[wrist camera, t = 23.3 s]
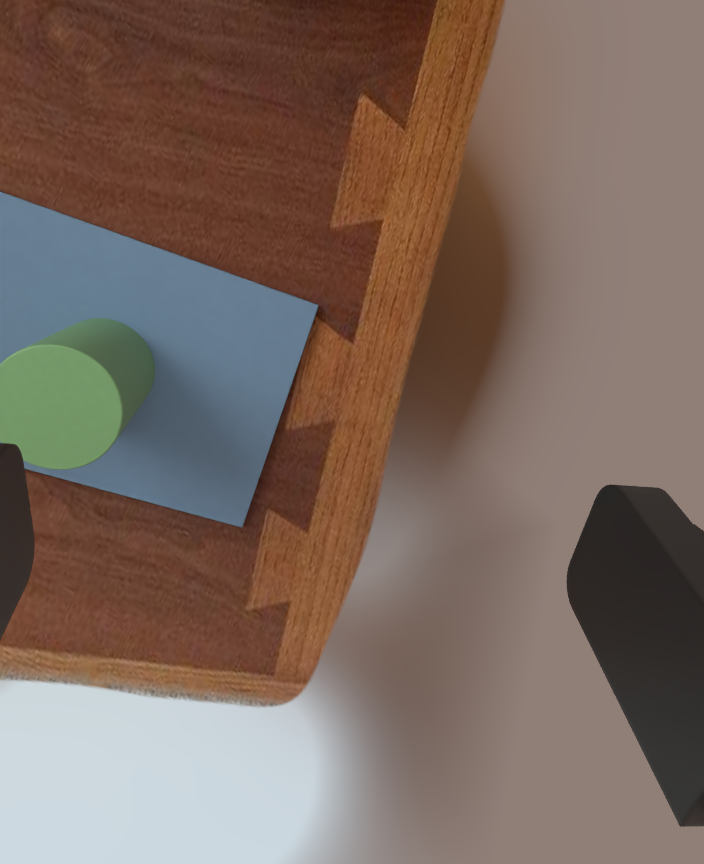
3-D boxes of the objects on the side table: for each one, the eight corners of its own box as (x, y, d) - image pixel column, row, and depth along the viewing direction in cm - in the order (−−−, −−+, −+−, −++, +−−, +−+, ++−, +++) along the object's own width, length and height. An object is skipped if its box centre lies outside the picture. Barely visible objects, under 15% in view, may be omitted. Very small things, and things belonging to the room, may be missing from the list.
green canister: (166, 337, 36) (137, 368, 27) (140, 427, 37) (104, 485, 28) (65, 303, 34) (1, 325, 26) (41, 398, 36) (-28, 449, 27)
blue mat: (318, 304, 37) (318, 305, 36) (242, 524, 40) (242, 527, 39) (-64, 168, 32) (-68, 167, 32) (-115, 427, 35) (-120, 430, 35)
